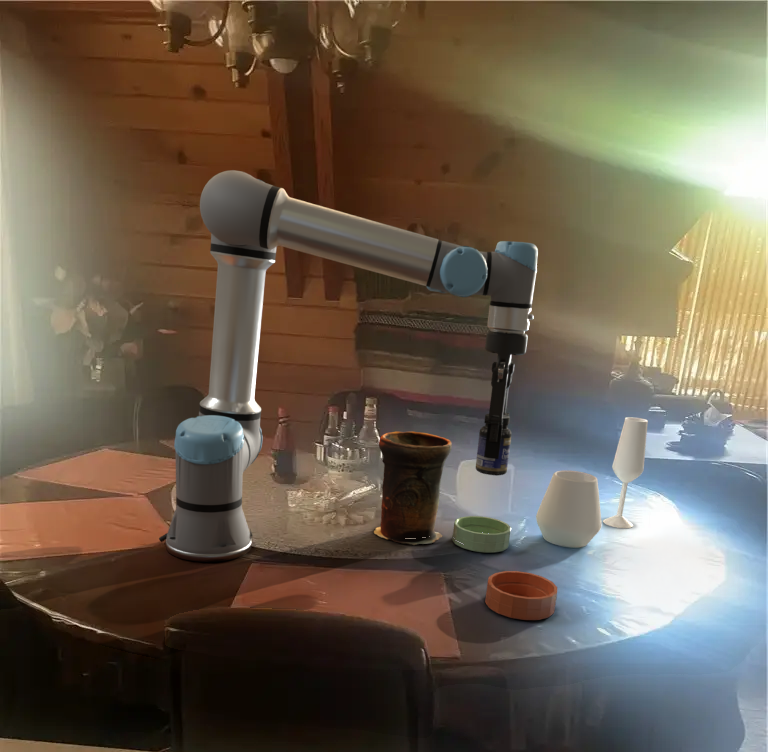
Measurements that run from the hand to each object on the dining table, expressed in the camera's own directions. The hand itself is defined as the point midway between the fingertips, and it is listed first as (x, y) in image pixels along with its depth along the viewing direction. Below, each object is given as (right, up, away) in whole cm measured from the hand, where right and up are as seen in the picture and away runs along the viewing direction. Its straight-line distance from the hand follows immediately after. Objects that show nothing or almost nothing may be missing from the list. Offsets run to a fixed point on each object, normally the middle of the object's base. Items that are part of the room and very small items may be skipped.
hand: (492, 453), depth 146 cm
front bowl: (+1, -27, -21) cm, 34 cm away
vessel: (-16, -16, +9) cm, 25 cm away
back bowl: (-2, -18, +7) cm, 19 cm away
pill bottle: (0, -4, +1) cm, 4 cm away
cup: (+17, -17, +13) cm, 28 cm away
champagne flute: (+32, -14, +27) cm, 44 cm away
